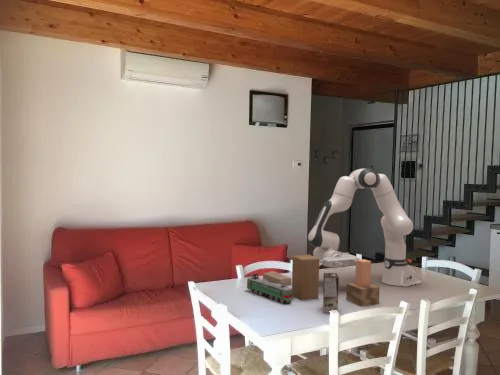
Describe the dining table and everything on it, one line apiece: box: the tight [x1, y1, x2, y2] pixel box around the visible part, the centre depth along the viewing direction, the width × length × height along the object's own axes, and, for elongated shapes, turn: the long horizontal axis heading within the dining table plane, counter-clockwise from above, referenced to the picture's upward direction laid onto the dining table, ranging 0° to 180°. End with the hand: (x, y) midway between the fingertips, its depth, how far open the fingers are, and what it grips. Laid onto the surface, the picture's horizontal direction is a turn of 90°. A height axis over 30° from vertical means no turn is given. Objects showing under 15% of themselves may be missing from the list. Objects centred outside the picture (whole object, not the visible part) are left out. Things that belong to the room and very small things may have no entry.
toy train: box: [246, 272, 294, 304], centre depth 214 cm, size 5×31×10 cm, turn 41°
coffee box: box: [322, 272, 340, 314], centre depth 195 cm, size 9×6×16 cm
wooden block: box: [291, 254, 320, 301], centre depth 215 cm, size 10×10×20 cm
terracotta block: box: [354, 259, 372, 287], centre depth 208 cm, size 5×5×12 cm
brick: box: [262, 270, 292, 287], centre depth 241 cm, size 17×8×5 cm, turn 35°
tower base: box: [345, 282, 380, 307], centre depth 208 cm, size 11×11×8 cm
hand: (350, 264), depth 217 cm, fingers open, 8 cm apart
